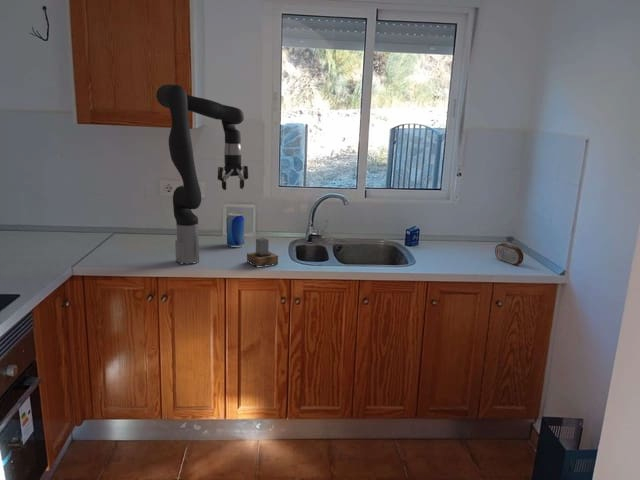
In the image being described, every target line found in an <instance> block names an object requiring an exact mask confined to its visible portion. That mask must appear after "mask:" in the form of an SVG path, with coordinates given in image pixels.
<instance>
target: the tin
mask: <svg viewBox="0 0 640 480" xmlns="http://www.w3.org/2000/svg"><path fill="white" fill-rule="evenodd" d="M494 254H495V256H496V258H497V260H498V261H500V262H504V263H505V264H510V265H512V266H517V265H520V264H522V263H523V261H524V253H523V250H522V249H521V248H519V247H518V246H515V245H512V244H508V243H506V242H502V243H499V244H497V245H496V246H495V249H494Z"/></svg>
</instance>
